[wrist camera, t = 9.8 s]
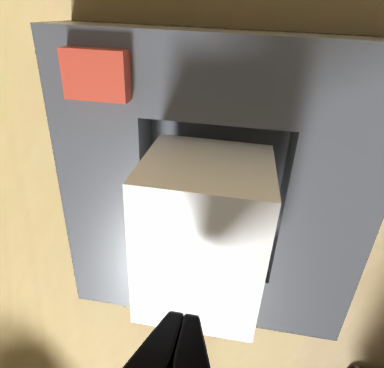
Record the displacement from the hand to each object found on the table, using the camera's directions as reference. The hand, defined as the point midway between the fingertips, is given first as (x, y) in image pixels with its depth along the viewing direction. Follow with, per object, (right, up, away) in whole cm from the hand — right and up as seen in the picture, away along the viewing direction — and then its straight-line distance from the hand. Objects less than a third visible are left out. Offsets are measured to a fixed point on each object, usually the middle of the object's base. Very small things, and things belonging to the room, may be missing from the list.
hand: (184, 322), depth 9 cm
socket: (+1, +4, +8) cm, 9 cm away
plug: (+1, +4, +7) cm, 8 cm away
